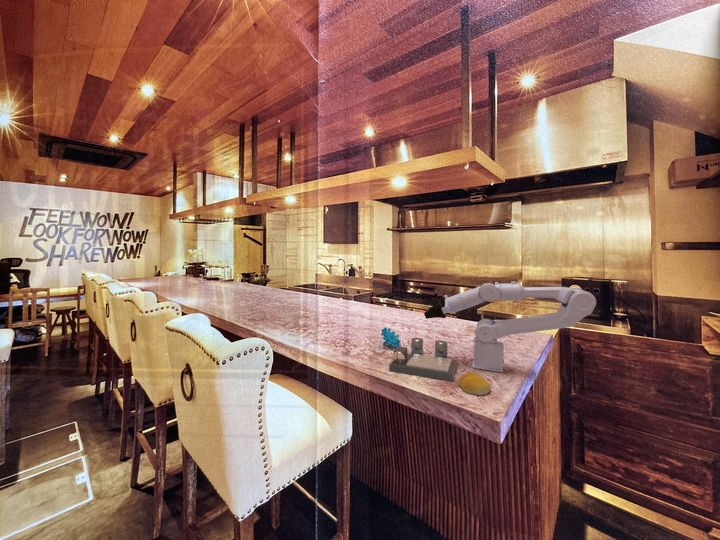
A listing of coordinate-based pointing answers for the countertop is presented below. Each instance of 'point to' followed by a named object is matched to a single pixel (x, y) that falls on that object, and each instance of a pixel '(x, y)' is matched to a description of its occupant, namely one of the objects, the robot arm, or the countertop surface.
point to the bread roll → (474, 384)
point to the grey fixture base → (422, 365)
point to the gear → (390, 337)
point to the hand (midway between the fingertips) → (427, 313)
